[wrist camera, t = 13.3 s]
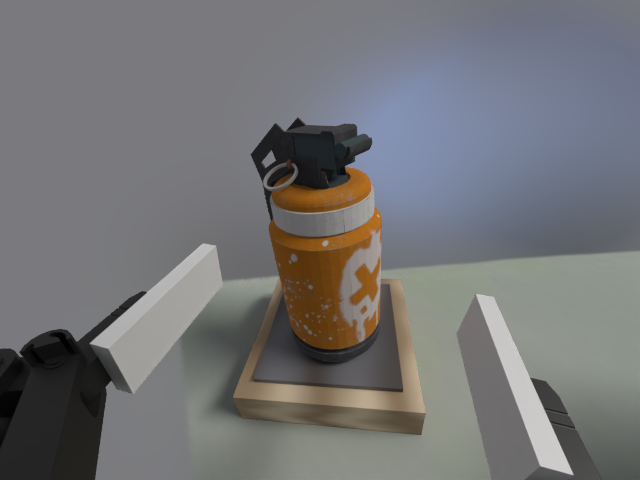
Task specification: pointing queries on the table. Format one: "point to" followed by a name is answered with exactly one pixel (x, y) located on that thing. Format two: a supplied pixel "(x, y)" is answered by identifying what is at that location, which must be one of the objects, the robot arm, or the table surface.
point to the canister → (324, 237)
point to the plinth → (335, 375)
